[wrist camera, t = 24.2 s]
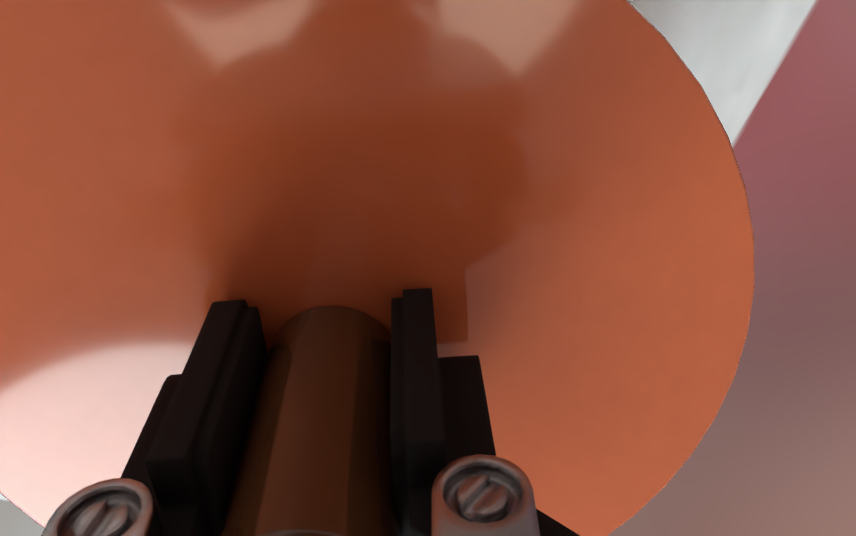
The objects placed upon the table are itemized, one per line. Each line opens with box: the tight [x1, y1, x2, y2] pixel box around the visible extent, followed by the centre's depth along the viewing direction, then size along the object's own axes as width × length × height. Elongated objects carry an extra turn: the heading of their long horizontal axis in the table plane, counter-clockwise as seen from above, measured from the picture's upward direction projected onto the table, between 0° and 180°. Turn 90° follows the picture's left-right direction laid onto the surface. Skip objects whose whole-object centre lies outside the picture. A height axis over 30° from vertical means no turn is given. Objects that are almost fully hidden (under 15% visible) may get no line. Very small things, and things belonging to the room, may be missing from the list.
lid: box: [0, 0, 754, 536], centre depth 11 cm, size 16×16×6 cm
